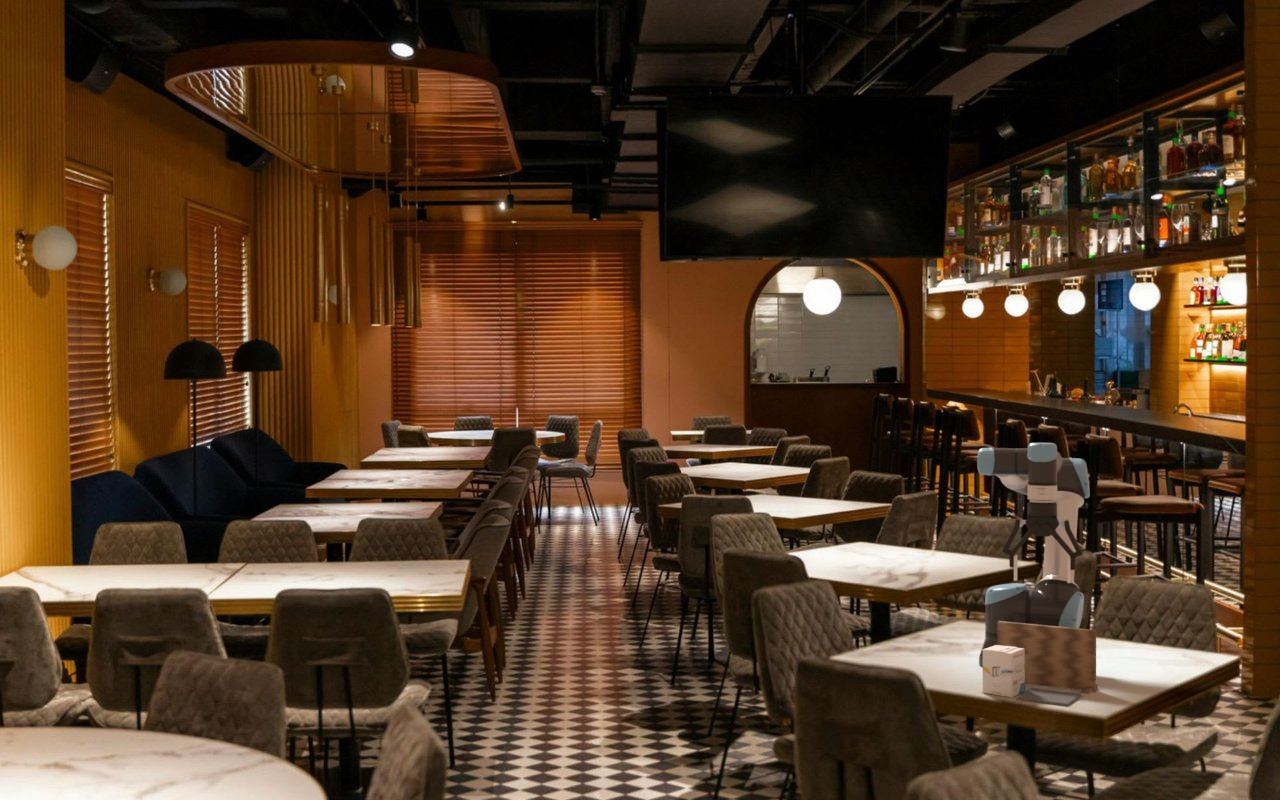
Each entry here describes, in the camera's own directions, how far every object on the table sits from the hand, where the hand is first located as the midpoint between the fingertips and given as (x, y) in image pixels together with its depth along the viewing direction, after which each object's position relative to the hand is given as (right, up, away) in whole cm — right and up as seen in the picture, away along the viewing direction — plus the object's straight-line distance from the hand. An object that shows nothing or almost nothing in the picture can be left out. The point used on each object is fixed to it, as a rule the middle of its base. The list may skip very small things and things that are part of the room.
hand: (1042, 581), depth 365 cm
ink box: (-11, -29, -3) cm, 31 cm away
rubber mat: (-1, -29, -9) cm, 30 cm away
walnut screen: (+3, -29, +5) cm, 29 cm away
